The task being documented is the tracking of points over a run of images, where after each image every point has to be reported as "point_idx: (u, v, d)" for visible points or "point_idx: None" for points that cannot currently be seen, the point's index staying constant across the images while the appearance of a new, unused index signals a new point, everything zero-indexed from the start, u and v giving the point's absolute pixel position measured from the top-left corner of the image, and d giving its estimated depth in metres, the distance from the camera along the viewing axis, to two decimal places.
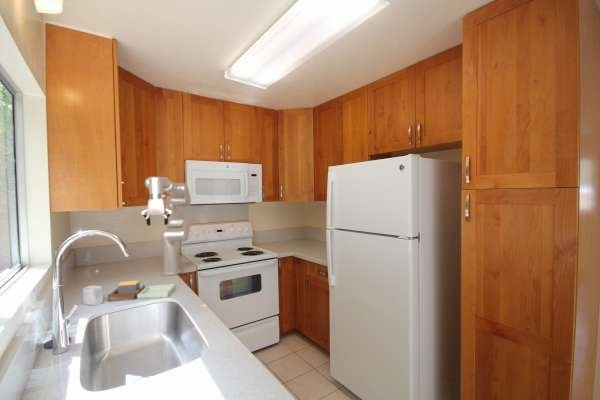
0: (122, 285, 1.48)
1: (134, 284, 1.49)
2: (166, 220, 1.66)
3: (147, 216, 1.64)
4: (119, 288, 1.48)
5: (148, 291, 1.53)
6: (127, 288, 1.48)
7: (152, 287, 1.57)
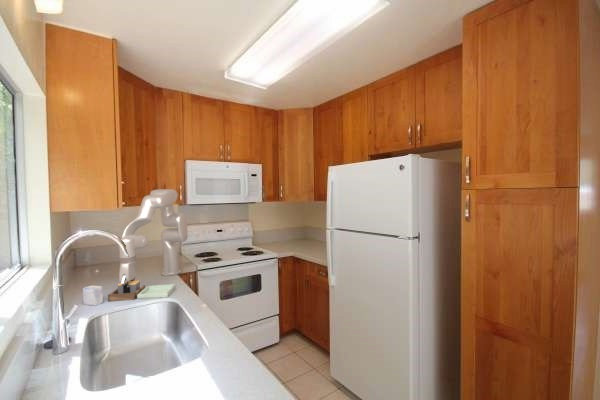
0: None
1: (134, 284, 1.49)
2: None
3: (128, 284, 1.48)
4: (119, 288, 1.48)
5: (148, 291, 1.53)
6: None
7: (152, 287, 1.57)
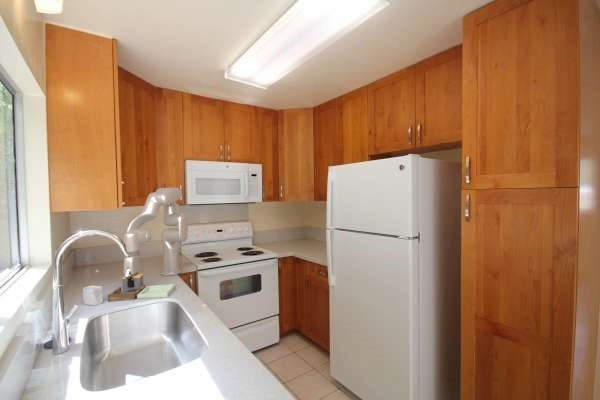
0: (126, 278, 1.53)
1: (138, 277, 1.54)
2: None
3: (132, 277, 1.53)
4: (123, 281, 1.53)
5: (148, 291, 1.53)
6: None
7: (152, 287, 1.57)
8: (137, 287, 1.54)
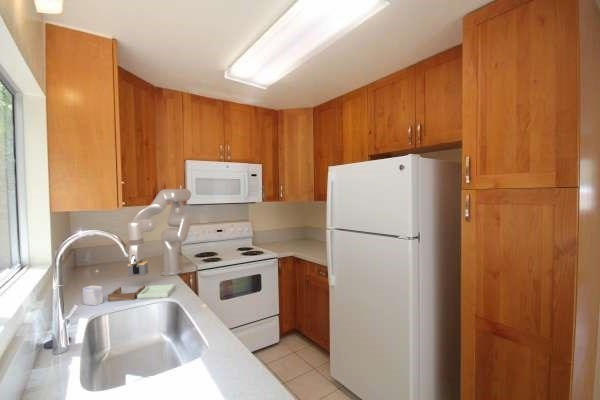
0: (131, 265, 1.59)
1: (143, 264, 1.60)
2: None
3: (137, 264, 1.59)
4: (129, 268, 1.59)
5: (148, 291, 1.53)
6: None
7: (152, 287, 1.57)
8: (142, 274, 1.60)
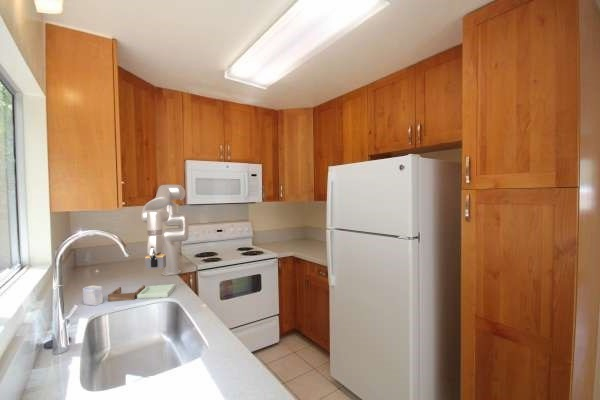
0: (149, 258, 1.48)
1: (161, 257, 1.49)
2: None
3: (156, 256, 1.48)
4: (146, 260, 1.48)
5: (148, 291, 1.53)
6: None
7: (152, 287, 1.57)
8: (160, 267, 1.49)
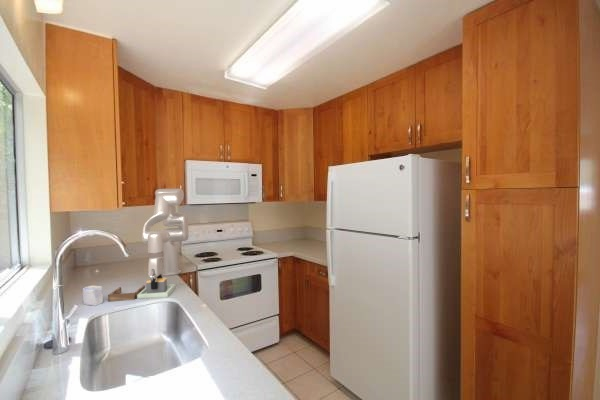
0: (150, 282, 1.49)
1: (162, 281, 1.50)
2: None
3: (156, 278, 1.48)
4: (148, 285, 1.49)
5: None
6: None
7: None
8: (161, 291, 1.50)
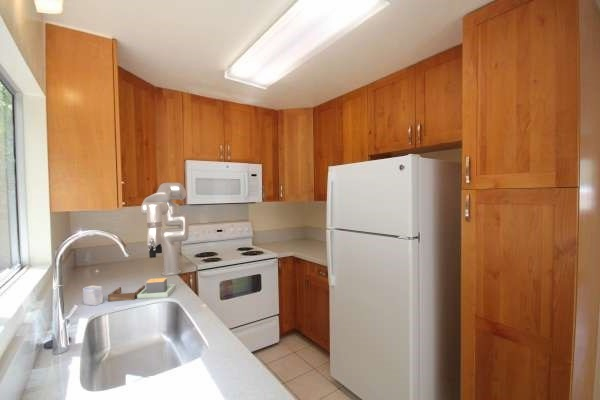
0: (150, 282, 1.49)
1: (162, 281, 1.50)
2: None
3: (154, 247, 1.49)
4: (148, 285, 1.49)
5: None
6: (155, 285, 1.49)
7: None
8: (161, 291, 1.50)
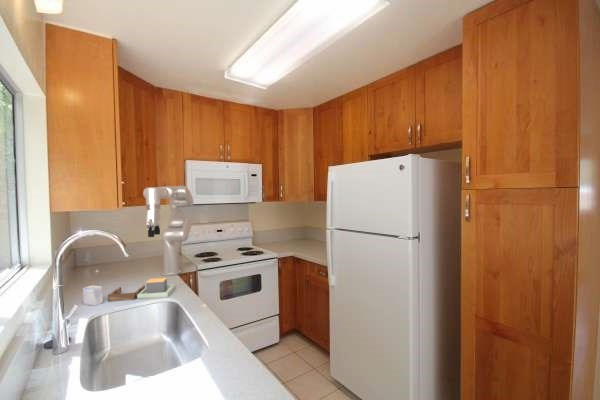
0: (150, 282, 1.49)
1: (162, 281, 1.50)
2: None
3: (153, 227, 1.61)
4: (148, 285, 1.49)
5: None
6: (155, 285, 1.49)
7: None
8: (161, 291, 1.50)
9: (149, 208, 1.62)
